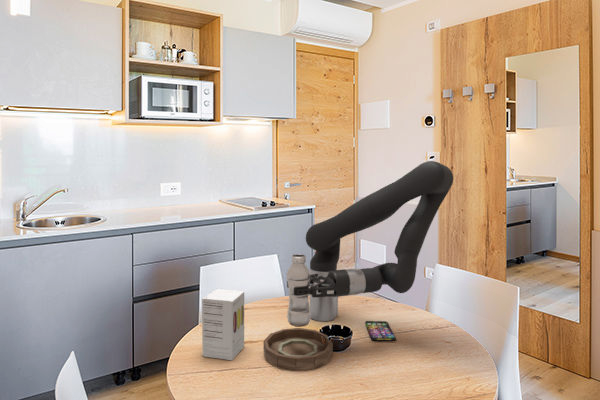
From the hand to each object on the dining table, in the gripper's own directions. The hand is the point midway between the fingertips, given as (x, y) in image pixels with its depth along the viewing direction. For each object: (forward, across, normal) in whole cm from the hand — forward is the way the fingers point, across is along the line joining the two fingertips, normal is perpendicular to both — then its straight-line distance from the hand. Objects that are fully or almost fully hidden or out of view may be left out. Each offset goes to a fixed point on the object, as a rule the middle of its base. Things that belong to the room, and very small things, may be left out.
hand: (290, 287), depth 119 cm
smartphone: (-32, -7, +20) cm, 39 cm away
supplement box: (+18, -7, +20) cm, 27 cm away
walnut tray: (-2, 0, +20) cm, 20 cm away
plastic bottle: (-2, 0, +11) cm, 11 cm away
